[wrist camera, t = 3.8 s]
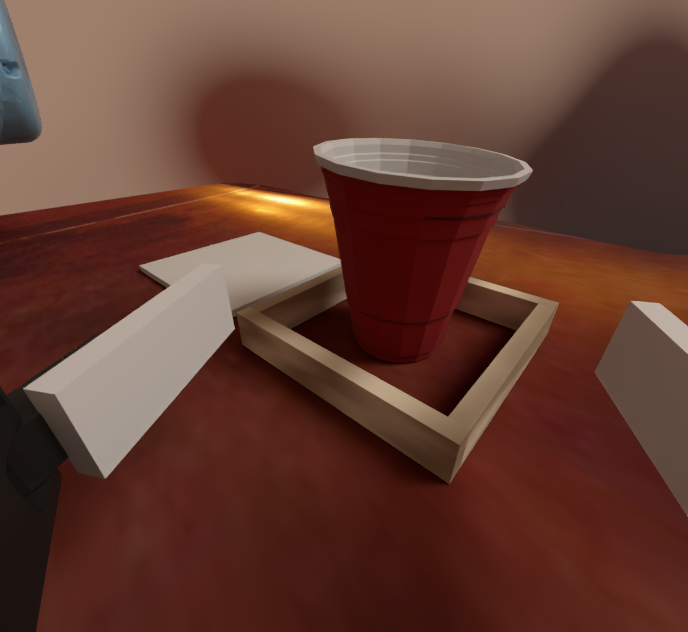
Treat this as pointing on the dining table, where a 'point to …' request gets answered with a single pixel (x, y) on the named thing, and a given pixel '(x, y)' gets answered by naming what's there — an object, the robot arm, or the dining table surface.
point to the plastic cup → (411, 233)
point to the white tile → (248, 267)
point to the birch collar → (380, 397)
